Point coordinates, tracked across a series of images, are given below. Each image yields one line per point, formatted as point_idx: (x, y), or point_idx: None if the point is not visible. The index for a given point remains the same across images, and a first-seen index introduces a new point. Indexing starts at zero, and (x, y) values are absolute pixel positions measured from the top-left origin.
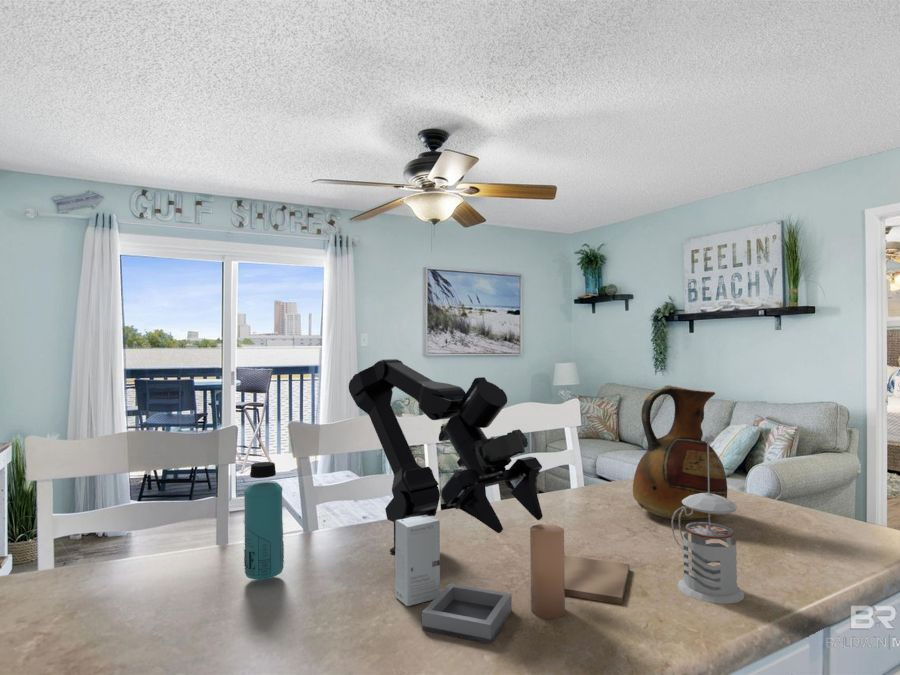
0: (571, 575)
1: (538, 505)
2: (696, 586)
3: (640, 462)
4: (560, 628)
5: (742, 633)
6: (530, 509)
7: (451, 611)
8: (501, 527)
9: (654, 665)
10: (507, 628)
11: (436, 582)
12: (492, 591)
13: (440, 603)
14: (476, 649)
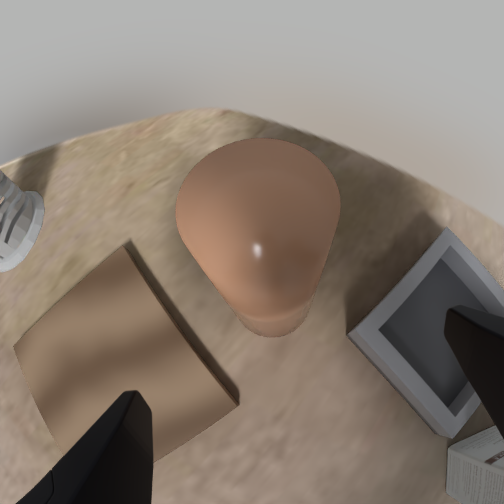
0: (122, 385)
1: (97, 430)
2: (27, 215)
3: None
4: None
5: (94, 135)
6: (141, 474)
7: None
8: (460, 305)
9: (240, 114)
10: (388, 274)
11: (471, 449)
12: (390, 361)
13: None
14: None
